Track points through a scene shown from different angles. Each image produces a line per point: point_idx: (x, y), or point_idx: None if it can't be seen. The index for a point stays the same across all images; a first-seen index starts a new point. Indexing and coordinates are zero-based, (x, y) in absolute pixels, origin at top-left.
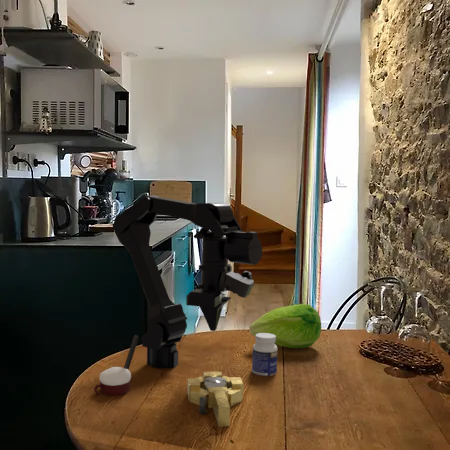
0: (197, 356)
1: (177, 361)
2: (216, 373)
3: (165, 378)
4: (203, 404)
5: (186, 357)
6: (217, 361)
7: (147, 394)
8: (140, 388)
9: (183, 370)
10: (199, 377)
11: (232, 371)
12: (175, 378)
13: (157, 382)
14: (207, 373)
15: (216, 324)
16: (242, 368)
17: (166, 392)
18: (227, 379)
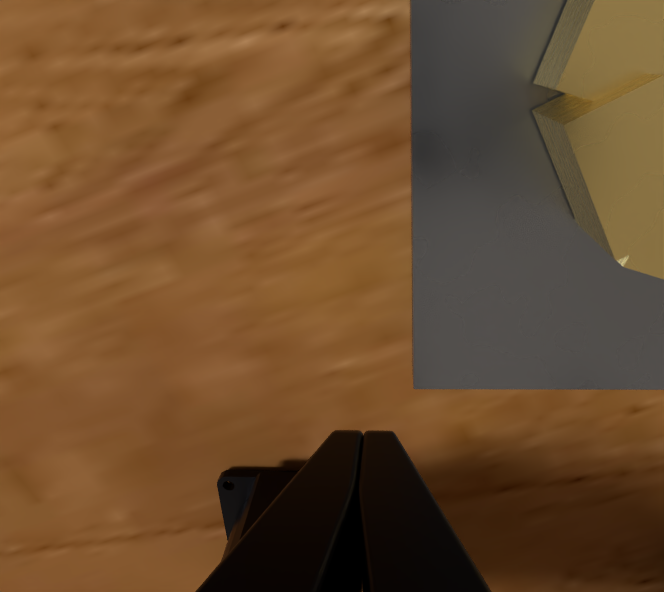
0: (11, 440)
1: (264, 498)
2: (624, 146)
3: None
4: None
5: (62, 482)
6: (8, 318)
7: (659, 472)
8: (585, 524)
9: (251, 434)
10: (654, 264)
11: (109, 170)
12: (385, 430)
13: (477, 485)
14: (646, 218)
15: (390, 489)
16: (17, 124)
17: (606, 402)
18: (647, 21)
